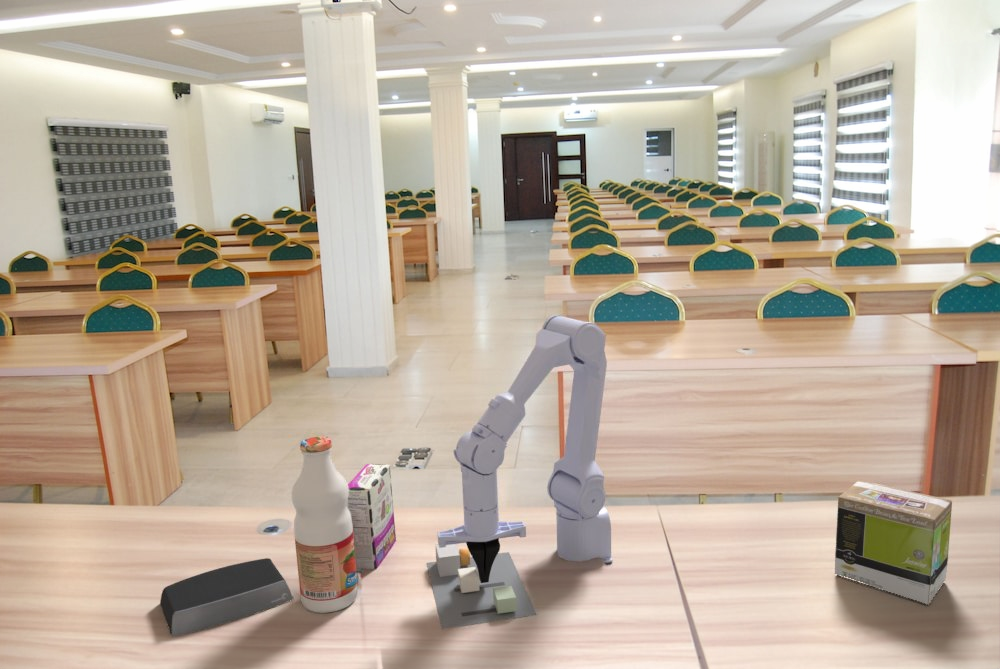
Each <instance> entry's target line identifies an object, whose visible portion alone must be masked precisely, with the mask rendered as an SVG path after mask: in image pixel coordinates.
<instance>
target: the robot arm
mask: <svg viewBox="0 0 1000 669" xmlns="http://www.w3.org/2000/svg"><path fill="white" fill-rule="evenodd" d="M606 337H607V335H606V334H605V333H604V331H603V330H602V329H601V328H600V327H599V326H598V325H597V324H596V323H595V322H591V321H583V320H579V319H575V318H571V317H566V316H564V315H561V314H553V315H551V316H549V317H548V318H547V319H546V320H545V321H544V323H543V325H542V327H541V329H539V331H538V332H537V333H536V335H535V345H534V348H532V350H531V352H530V354H529V356H528V357H527V359H526V361H525V362H524V364H523V366H522V367H521V369H520V370H519V372H518V374H517V375H516V378H515V379H514V381H513V382H512V384H511V386H510V387H509V389H508V391H507V392H504V393H500V394H497V395H496V396H495V397H494V398H491V399H490V401H489V402H488V407H487V409H486V410H485V411H484V413H483V414H482V416H481V417H480V418H479V420H478V421H477V423H476V424H475V425H474V426H473V427H472V429H471V431H468V432H467V433H464V434H463V435H462V436H461V437H459V439H458V441H457V443H456V447H455V449H453V456H454V458H455V460H456V461H457V462H458V463H459V465H460V472H461V484H462V486H461V487H462V504H463V525H460V526H457V527H454V528H450V529H447V530H442V531H437V544H439V548H442V547H446V545H451V544H456V545H458V544H464V543H465V544H466V547H467V548H468V550H469V553H470V557H473V559H474V561H475V563H476V565H477V569H478V574H479V579H480V582H481V583H486V582H489V576H490V571H491V568H492V565H493V562H494V560H495V558H496V556H497V554H498V553H500V551H501V550H500V549H501V544H500V540H499V539H505V538H513V537H514V538H515V537H520V538H526V537H527V526H526V525H525V523H524V521H500V518H499V514H500V513H499V493H498V491H499V490H498V489H499V488H498V468H500V466H501V465H502V464H503V462H504V459H505V451H506V448H507V447H508V442H509V440H510V438H511V436H513V434H514V433H515V431H516V430H517V428H518V427H519V426H520V424H521V422H522V421H523V420H524V418H525V417H526V408H525V404H526V403H527V402H528V400H529V399H531V397H532V395H533V394H534V393H535V392H536V390H537V389H538V388H539V386H540V385H541V384H542V383H543V382H544V381H545V379H546V378H547V377H548V375H549V374H550V373H551V372H552V370H553V369H555V368H558V367H564V366H570V367H571V368H572V370H573V377H572V378H573V379H572V386H571V394H570V403H569V410H568V418H567V419H568V420H567V428H566V435H565V436H566V437H565V445H564V453H563V457H561V458H559V459H558V460H557V461H555V462H554V465H553V470H552V473H551V475H550V477H549V480H548V482H547V487H546V488H547V495H548V496H549V497H550V499H551V500H552V501H553V502H554V503H553V506H554V508H555V513H556V553H557V555H558V557H560V558H561V559H563V560H566V561H569V562H587V561H589V560H593V559H595V558H597V559H598V558H601V560H602V561H603V563H605V564H608V563H612V562H613V558H612V524H611V518H610V515H609V512H608V510H607V508H606V507H605V502H606V498H607V497H606V495H607V494H606V490H605V487H604V482H605V481H604V480H605V476H604V474H603V472H602V469H600V467H599V465H598V464H597V462H596V454H597V447H598V446H597V445H598V438H599V429H600V423H601V414H602V413H601V412H602V406H603V405H602V404H603V398H604V390H605V381H606V372H607V362H608V360H607V356H606V352H605V347H606V339H607V338H606Z"/></svg>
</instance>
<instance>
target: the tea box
mask: <svg viewBox="0 0 1000 669" xmlns="http://www.w3.org/2000/svg"><path fill="white" fill-rule="evenodd" d="M837 499H838V500H837V514H836V515H837V516H836V517H837V518H836V531H835V532H836V534H835V535H836V537H835V551H834V554H835V555H834V558H835V560H834V575H835V574H837V575H841V576H843V577H844V576H845V577H848V578H851V579H854V580H856V581H860V582H863V583H865V584H868V585H871V586H873V587H876V588H875V589H877V588H880V589H883V590H886V591H888V592H887V593H889V592H891V593H890V594H893V593H895V594H894V595H896V594H898V595H897V596H899V595H901V596H900V597H902V596H904V597H903V598H905V597H906V598H905V599H908V598H911V599H914V600H913V601H915V600H917V601H916V602H918V601H920V602H919V603H921V602H922V604H924V603H925V604H924V605H927V604H929V603H930V604H931V603H932V601H933V599H934V598H935V597H936V595H937V594H938V592H939V591H938V589H939V588H940V587H941V585H942V584H943V582H944V581H945V582H946V578H947V572H948V561H949V547H950V536H951V534H950V533H951V524H952V522H951V520H952V512H953V511H952V510H953V509H952V506H953V500H950V499H947V498H943V497H937V496H934V495H929V494H925V493H921V492H915V491H912V490H907V489H902V488H898V487H894V486H889V485H885V484H880V483H876V482H872V481H868V480H867V481H866V480H862V479H859V480H857V481H856V482H855V483H854V484H853V485H851V486H850V487H849V488H848V489H847V490H846V491H844V492H843V493H842V494H840V495H839V496H838V498H837ZM943 585H944V584H943ZM873 587H872V588H873ZM941 588H942V587H941ZM941 588H940V589H941ZM880 589H879V590H880ZM883 590H882V591H883ZM886 591H885V592H886ZM937 591H938V592H937ZM936 593H937V594H936ZM935 594H936V595H935ZM907 597H908V598H907ZM933 597H934V598H933ZM911 599H910V600H911ZM931 600H932V601H931ZM930 604H929V605H930Z"/></svg>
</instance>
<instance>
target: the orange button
mask: <svg viewBox="0 0 1000 669" xmlns="http://www.w3.org/2000/svg"><path fill="white" fill-rule="evenodd" d="M458 551H459V554H460V565H461V566H463V565H470V557H471V554H470V552H469V550H468V547H467V548H466V547H465V548H460V549H459V548H458Z"/></svg>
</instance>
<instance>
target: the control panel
mask: <svg viewBox="0 0 1000 669" xmlns="http://www.w3.org/2000/svg"><path fill="white" fill-rule="evenodd" d="M457 545H458V544H451V545H446V547H442V548H439V544H438V543H437V544H435V546H434V547H435V560H436V561H431V562H426V565H427V570H428V575H429V579H430V582H431V583H430V584H431V587H432V591H433V596H434V600H435V605H436V609H437V614H438V616H439V622H440V626H441V629H442V630H444V629H449V628H457V627H465V626H472V625H478V624H485V623H486V624H487V623H492V622H498V621H505V620H512V619H521V618H525V617H526V618H527V617H533V616H538V614H537V612H536V609H535V607H534V605H533V602H532V601H531V599H530V596H529V594H528V592H527V589H526V587H525V584H524V583H523V581H522V578H521V577H520V574H519V572H518V570H517V567H516V565H515V563H514V561H513V559H512V556H511V554H510V552H509V551H507V552H498V554H497V556H496V558H495V560H494V562H493V565H492V568H491V571H490V576H489V582H486V583H481V582H480V579H479V589H480V591H473V592H466V593H461V589H460V586H459V583H458V569H462V568H470V567H476V570H477V573H478V569H477V565H476V563H475V561H474V559H473V557H472V556H470V565H463V566H461V565H460V554H459V548H458V546H457ZM478 576H479V574H478ZM505 586H512V589H513V591H514V593H515V596H516V609H517V611H514V612H507V613H500V614H498V613H497V610H496V607H495V604H494V601H493V588H498V587H505Z"/></svg>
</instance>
